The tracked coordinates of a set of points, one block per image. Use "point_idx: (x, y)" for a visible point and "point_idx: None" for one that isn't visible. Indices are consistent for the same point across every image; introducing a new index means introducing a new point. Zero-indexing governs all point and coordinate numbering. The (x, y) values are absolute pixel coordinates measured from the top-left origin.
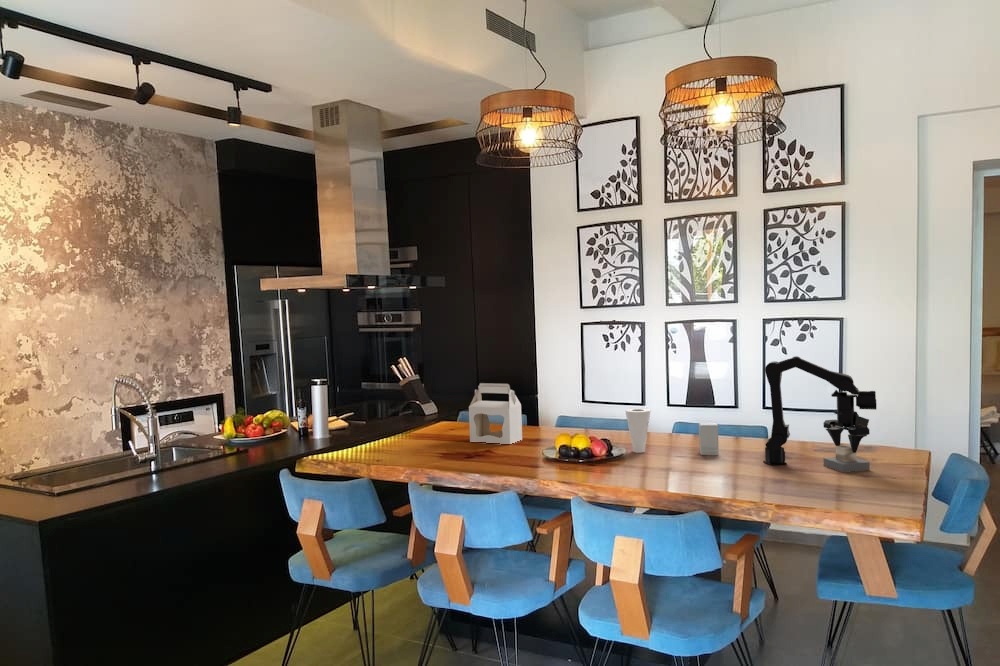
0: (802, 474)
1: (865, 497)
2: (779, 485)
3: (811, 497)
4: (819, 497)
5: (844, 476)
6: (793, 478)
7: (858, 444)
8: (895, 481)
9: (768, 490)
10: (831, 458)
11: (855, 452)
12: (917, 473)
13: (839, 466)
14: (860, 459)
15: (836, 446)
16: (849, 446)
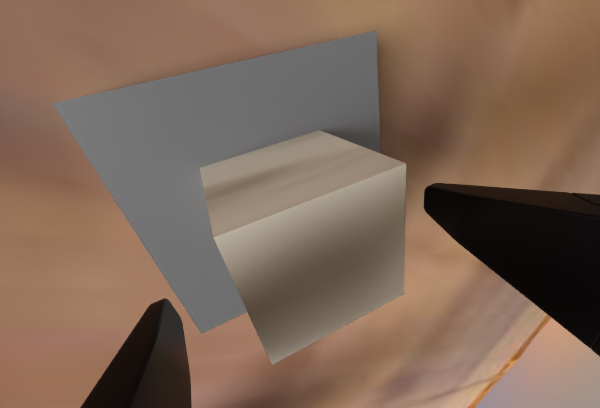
0: (351, 354)
1: None
2: (431, 378)
3: (515, 319)
4: (522, 307)
5: (412, 230)
6: (388, 366)
7: (561, 199)
8: (547, 38)
9: (451, 385)
10: (212, 289)
11: (434, 188)
12: None
13: None
14: (259, 58)
15: (289, 354)
16: (318, 228)
